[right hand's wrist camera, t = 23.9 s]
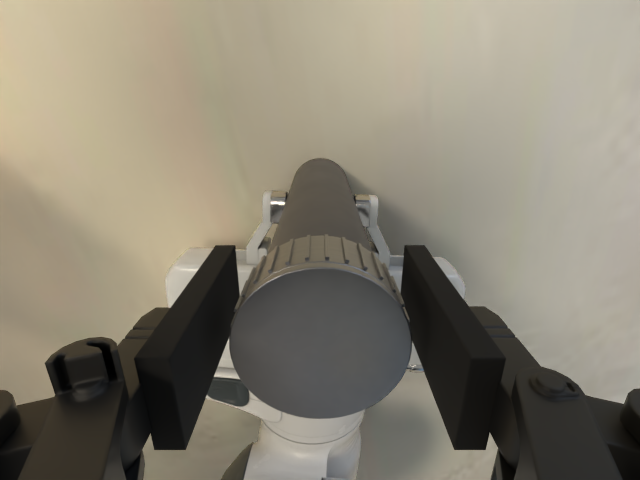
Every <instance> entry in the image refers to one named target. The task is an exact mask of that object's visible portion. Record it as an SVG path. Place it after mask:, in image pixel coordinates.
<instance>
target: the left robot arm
mask: <svg viewBox="0 0 640 480" xmlns="http://www.w3.org/2000/svg"><path fill="white" fill-rule="evenodd" d="M287 197H288V192H284V191H265V192H264V194H263V200H262V213H263V218H262V220H261V222H260V223H259V225H258V227H257V228H256V230H255V232H254V233H253V235H252V237H251V239H250V241H249V243H248V245H247V247H246V249H236V259H237V270H238V281H239V292H240V294H241V292H242V290H243V287H244V285H245V282H246V280H248V278H249V275H250V273H251V271H252V268H253V267H255V268H256V267H257V265H258V264H259V263H260V261H261V258H262V256H264V255H265V256H266V255H268V252H269V250H270V247H271V239H270V238H268V237H265V235H266V234H267V232H268V230H269V229H270V227H271V225H272V224H273V223H279V220H280V217H281V214H282V212H283V209H284V206H285V203H286V200H287ZM353 198H354V201H355V204H356V207H357V209H358V212H359V215H360V218H361V221H362V224H363V227H366V228H367V230H368V232H369V234H370V236H371V238H372V240H373V242H374V243H373V242H370V241H369V244H370V247H371V250H372V251H373V252H374V253H375V255H376V257H377V258H378V259H379V260H380V261H381V263H382V264H383V263H385V264H386V266H387V269H388V271H389V274H390V276H392V275H393V277H394V280H395V282H396V285H397V287H398V289H399V292H401V281H402V270H403V259H404V256H402V255H391V253H390V251H389V248H388V246H387V244H386V242H385V240H384V238H383V236H382V234H381V232H380V230H379V228H378V225H377V217H378V207H379V203H378V198H377V196H376V195H360V194H354V197H353ZM212 250H213V248H198V247H193V248H189V249H187V250H186V251H185V252H184V253H183V254H182V255H181V256H180V257H179V258H178V259H177V260H176V261H175V262H174V263H173V264H172V266H171V267H170V268H169V270H168V272H167V274H166V278H165V289H166V297H167V303H168V308H171V306H172V305H173V304H174V302H175V301H176V299H177V298H178V297H179V295H180V294H181V293H182V291H183V290H184V288H185V287H186V286H187V284H188V283H189V281H190V280H191V279H192V277H193V276H194V275H195V273H196V272H197V270H198V269H199V268H200V266H201V265H202V264H203V262H204V261H205V259H206V258H207V257H208V255H209V254H210V253H211V251H212ZM433 258H434V259H435V261H436V262H437V264H438V265H439V266H440V268H441V269H442V270H443V272H444V273H445V275H446V276H447V277H448V279H449V280H450V282H451V283H452V284H453V286H454V287H455V288H456V290H457V291H458V293H459V294H460V295H461V297H462V298H463V299H464V297H465V292H466V288H465V284H464V281H463V280H462V278H461V276H460V275H459V273H458V272H457V271H456V269H455V268H454V267H453V266H452V265H451V264H450V263H449V262H448V261H447V260H446V259H445V258H442V257H433ZM406 371H410V372H424V370H423V367H422V365H421V362H420V359H419V357H418V354H417V352H416V349H415V346H414V344H413V341H412V351H411V356H410V361H409V364H408V366H407V369H406ZM205 399H208V400H212V401H215V402H219V403H222V404H226V405H229V406H232V407H235V408H238V409H240V410H243V411H245V412H248V413H250V414H253V415H255V416H257V417H259V418H260V419H261V426H260V429H259V435H258V441H257V442H256V443H253V442H252V443H251V444H250V445H248V446H247V447H246V448H245V449H244V450H243V451H242V452H241V453H240V455H239V456H238V457H237V458H236V459H235V460H234V462H233V463H232V464H231V465H230V466H229V468H228V469H227V470H226V472H225V473H224V475H223V477H222V478H221V480H356V477H357V471H358V466H359V459H360V452H361V435H360V430H359V427H360V424H361V422H362V420H363V417H364V413H365V410H363V411H360V412H357V413H355V414H352V415H348V416H344V417H338V418H331V419H310V418H303V417H297V416H293V415H290V414H286V413H284V412H281V411H279V410H276V409H274V408H272V407H270V406H269V405H267V404H265V403H264V402H262V401H261V400H259V399H258V398H257V397H256V396H255V395H253V394H252V393H251V392H250V391H249V390H248V389H247V387H246V386H245V385H244V384H243V382H242V381H241V379H240V378H239V376H238V375H237V373H236V371H235V369H234V366H233V363H232V360H231V355H230V349H229V339H228V341H227V344H226V346H225V349H224V352H223V354H222V357H221V359H220V362H219V365H218V367H217V370H216V372H215V375H214V378H213V380H212V383H211V385H210V388H209V390H208V393H207V396H206V398H205Z"/></svg>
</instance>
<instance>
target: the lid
mask: <svg viewBox="0 0 640 480" xmlns="http://www.w3.org/2000/svg"><path fill="white" fill-rule="evenodd" d="M234 312H235V315H234V317H233V320H232V322H231V325H230V328H231V330H230V336H229V349H230V355H231V360H232V363H233V366H234V369H235V371H236V373H237V375H238V376H239V378H240V379H241V381H242V382H243V384H244V385H245V386H246V387H247V389H248V390H249V391H250V392H251V393H252V394H253V395H255V396H256V397H257V398H258V399H259V400H261V401H262V402H264V403H265V404H267V405H269V406H270V407H272V408H274V409H276V410H279V411H281V412H284V413H286V414H290V415H293V416H297V417H303V418H310V419H331V418H338V417H344V416H348V415H352V414H355V413H357V412H360V411H363V410H365V409H367V408H369V407H371V406H373V405H374V404H376V403H377V402H379V401H380V400H382V399H383V398H384V397H385V396H387V395H388V394H389V393H390V392H391V391H392V390H393V389H394V388H395V387H396V385H397V384H398V383H399V381H400V380H401V378H402V377H403V375H404V373H405V371H406V369H407V366H408V364H409V361H410V356H411V351H412V335H411V329H410V325H409V322H410V319H409V316H408V314H407V311H406V309H405V304H404V301H403V299H402V296H401V294H400V292H399V289H398V287H397V285H396V282H395V280H394V277H393V275H392V276H390V274H389V271H388V269H387V266H386V264H385V263H383V264H382V263H381V261H380V260H379V259H378V258H377V257H376V255H375V253H374V252H373V251H372V252H370V251H369V250H367V249H366V248H364V247H362V245H361V244H360V243H358V244H357V243H355V242H352V241H349V240H346V239H345V237H342V238H339V237H334V236H328V234H325V236H324V235H319V236H311V235H307V237H302V238H298V239H295V240H294V239H290V241H289V242H287V243H285V244H282V245H280V246H279V247H278V245H277V246H276V247H275V248H274V250H272V251H271V252H270V253H269V254H268V255H266V256H265V255H264V256H262V258H261V261H260V263H259V264H258V265H257V267H256V268H255V267H253V268H252V271H251V273H250V275H249V278H248V280H246V282H245V285H244V287H243V290H242V292H241V294H240V297H239V299H238V302H237V304H236V307H235V309H234Z"/></svg>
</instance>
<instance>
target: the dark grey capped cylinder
mask: <svg viewBox="0 0 640 480" xmlns="http://www.w3.org/2000/svg"><path fill="white" fill-rule="evenodd" d="M325 234H328V236H334V237H339V238H342V237H345V239H346V240H349V241H352V242H355V243H357V244H358V243H360V244H361V245H362V247H364V248H366V249H367V250H369V251H370V252H372V250H371V247H370V244H369V241H368V238H367V235H366V232H365V230H364V227H363V224H362V221H361V218H360V215H359V212H358V209H357V207H356V204H355V201H354V198H353V195H352V192H351V189H350V186H349V184H348V181H347V178H346V175H345V173H344V171H343V170H342V168H341V167H340V166H339V165H338V164H336V163H335V162H333V161H331V160H328V159H322V158H318V159H313V160H310V161H308V162H306V163H304V164H303V165H302V166H301V167H300V168H299V169H298V171H297V172H296V174H295V176H294V179H293V182H292V185H291V188H290V191H289V194H288V197H287V200H286V203H285V206H284V209H283V212H282V214H281V217H280V220H279V223H278V226H277V229H276V232H275V235H274V238H273V241H272V244H271V247H270V250H269V252H268V254H269V253H270V252H271V251H272V250H274V248H275V247H276V246H277V245H278V247H279V246H280V245H282V244H285V243H287V242H289V241H290V239H294V240H295V239H298V238H302V237H307V235H311V236H319V235H324V236H325Z"/></svg>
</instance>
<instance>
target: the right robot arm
mask: <svg viewBox="0 0 640 480" xmlns="http://www.w3.org/2000/svg"><path fill="white" fill-rule="evenodd" d="M400 294H401V296H402V299H403V301H404V304H405V309H406V311H407V314H408V316H409V319H410V322H409V325H410V329H411V335H412V341H413V344H414V346H415V349H416V352H417V354H418V357H419V359H420V362H421V365H422V367H423V370H424V372H425V375H426V378H427V380H428V383H429V385H430V388H431V390H432V393H433V396H434V398H435V401H436V403H437V406H438V409H439V411H440V414H441V416H442V419H443V422H444V424H445V427H446V429H447V432H448V435H449V437H450V440H451V442H452V445H453V447H454V450H486V446H487V441H488V437H489V432H490V433H491V435H492V437H493V439H494V441H495V443H496V445H497V447H498V451H497V455H496V459H495V464H494V468H493V472H492V476H491V480H640V389H634V390H632V391H631V392H629V393H628V395H627V398H626V400H625V403H624V404H621V403H616V402H612V401H607V400H603V399H598V398H594V397H590V396H586V395H585V394H584V393H583V391H582V390H581V388H580V387H579V386H578V385H577V384H576V383H575V382H573V381H572V380H571V379H570V378H568V377H566V376H564V375H563V374H561V373H559V372H557V371H554V370H551V369H547V368H544V367H541V366H540V365H539V364H538V362H537V361H536V360H535V359H534V358H533V356H532V355H531V354H530V353H529V352H528V350H527V349H526V348H525V347H524V346H523V345H522V343H521V342H520V341H519V340H518V339H517V338H515V335H514V334H513V333H512V331H511V330H510V329H508V328H507V325H506V324H505V323H504V322H503V321H502V319H501V318H500V317H499V316H498V315H497V314H495V313H493V312H492V311H490V310H489V309H487V308H486V307H469V306H468V305H467V304H466V302H465V301H464V299H463V298H462V297H461V295H460V294H459V293H458V291H457V290H456V288H455V287H454V286H453V284H452V283H451V282H450V280H449V279H448V277H447V276H446V275H445V273H444V272H443V270H442V269H441V268H440V266H439V265H438V264H437V262H436V261H435V259H434V258H433V257H432V255H431V254H430V253H429V251H428V250H427V248H426V247H425V246H424V245H405V248H404V259H403V270H402V281H401V292H400ZM239 297H240V292H239V281H238V270H237V259H236V248H235V245H216V246H215V247H214V248H213V250H212V251H211V253H210V254H209V255H208V257H207V258H206V259H205V261H204V262H203V264H202V265H201V266H200V268H199V269H198V270H197V272H196V273H195V275H194V276H193V277H192V279H191V280H190V281H189V283H188V284H187V286H186V287H185V288H184V290H183V291H182V293H181V294H180V295H179V297H178V298H177V299H176V301H175V302H174V304H173V305H172V306H171V308H155V309H153V310H152V311H150V312H149V313H147V314H145V315H144V316H142V317H141V318H140V320H139V321H138V322H137V323H136V324H135V326H134V327H133V330H130V332H129V333H128V334H127V335H126V337H125V339H123V340H122V341H121V343H120V344H119V345H118V346H117V344H116V342H114V341H113V340H112V339H109V338H104V337H96V338H87V339H84V340H80V341H76V342H74V343H72V344H69V345H67V346H65V347H63V348H61V349H60V350H58V351H57V352H55V353H54V354H52V355H51V356H50V358H49V359H48V360H47V361H46V362H45V365H46V368H47V371H48V374H49V377H50V380H51V383H52V386H53V389H54V392H55V397H52V398H49V399H44V400H40V401H35V402H31V403H27V404H22V405H18V406H17V405H16V403H15V400H14V398H13V395H12V394H10V393H9V392H8V391H4V390H0V480H143V476H144V467H145V462H144V455H143V451H142V449H143V447H144V445H145V443H146V441H147V439H148V437H149V435H150V433H151V437H152V441H153V446H154V450H186V447H187V445H188V442H189V440H190V437H191V434H192V432H193V429H194V427H195V424H196V422H197V419H198V416H199V414H200V411H201V409H202V406H203V403H204V401H205V398H206V396H207V393H208V390H209V388H210V385H211V383H212V380H213V378H214V375H215V372H216V370H217V367H218V365H219V362H220V359H221V357H222V354H223V352H224V349H225V346H226V344H227V341H228V339H229V336H230V330H231V328H230V325H231V322H232V320H233V317H234V315H235V312H234V309H235V307H236V304H237V302H238V299H239Z"/></svg>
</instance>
